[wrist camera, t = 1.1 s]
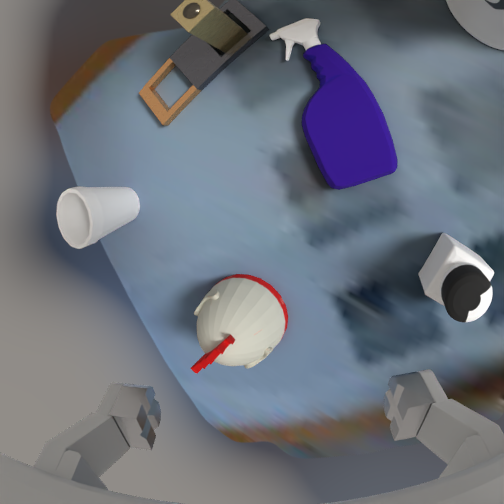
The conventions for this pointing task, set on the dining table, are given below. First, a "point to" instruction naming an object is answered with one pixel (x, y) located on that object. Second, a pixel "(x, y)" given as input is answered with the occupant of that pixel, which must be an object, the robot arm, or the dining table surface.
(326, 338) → the dining table surface
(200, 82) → the peg insertion board
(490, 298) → the medicine bottle
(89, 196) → the foam cup
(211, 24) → the tan square peg
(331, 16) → the dining table surface
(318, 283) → the dining table surface
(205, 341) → the kitchen timer
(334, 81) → the purple flat blob
